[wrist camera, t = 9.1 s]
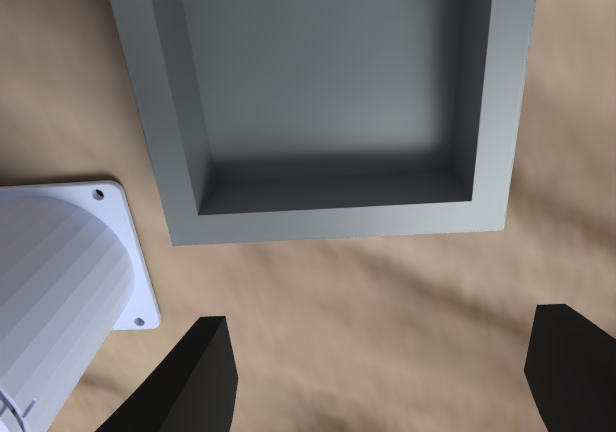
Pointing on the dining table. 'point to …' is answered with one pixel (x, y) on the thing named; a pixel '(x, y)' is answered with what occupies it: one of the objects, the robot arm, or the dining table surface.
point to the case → (327, 114)
